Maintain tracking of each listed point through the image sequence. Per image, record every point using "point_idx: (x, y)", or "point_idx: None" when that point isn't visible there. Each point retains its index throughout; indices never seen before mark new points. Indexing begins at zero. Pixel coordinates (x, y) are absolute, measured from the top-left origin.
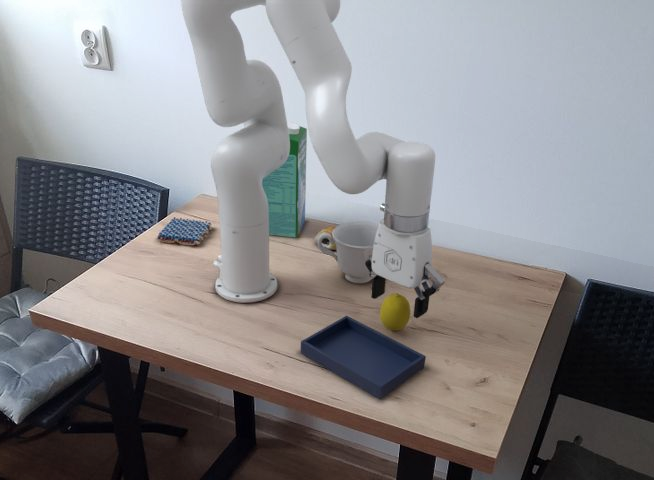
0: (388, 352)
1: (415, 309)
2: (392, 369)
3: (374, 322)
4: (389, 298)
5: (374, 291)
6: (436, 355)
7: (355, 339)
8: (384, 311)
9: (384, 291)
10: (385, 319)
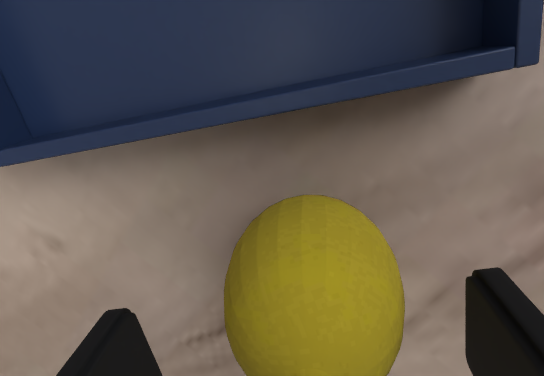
0: (165, 85)
1: (82, 357)
2: (38, 5)
3: (414, 205)
4: (337, 332)
5: (506, 317)
6: (96, 240)
7: (349, 9)
8: (318, 232)
9: (472, 371)
10: (298, 206)
